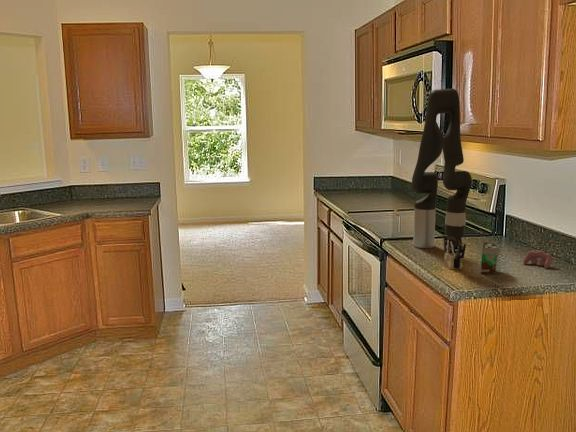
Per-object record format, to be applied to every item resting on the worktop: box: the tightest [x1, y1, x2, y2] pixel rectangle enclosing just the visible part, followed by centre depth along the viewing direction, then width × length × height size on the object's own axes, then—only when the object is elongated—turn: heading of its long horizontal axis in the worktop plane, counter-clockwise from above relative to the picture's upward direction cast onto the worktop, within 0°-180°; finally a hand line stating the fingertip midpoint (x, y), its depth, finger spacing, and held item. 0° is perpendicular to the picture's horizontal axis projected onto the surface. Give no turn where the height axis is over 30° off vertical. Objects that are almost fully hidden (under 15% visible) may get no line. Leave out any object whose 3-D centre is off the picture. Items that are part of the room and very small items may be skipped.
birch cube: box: [443, 252, 464, 270], centre depth 216 cm, size 5×5×5 cm
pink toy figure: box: [522, 249, 554, 270], centre depth 218 cm, size 10×5×7 cm, turn 44°
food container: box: [480, 241, 501, 275], centre depth 210 cm, size 12×6×10 cm, turn 158°
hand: (453, 265), depth 217 cm, fingers closed on birch cube, 5 cm apart
